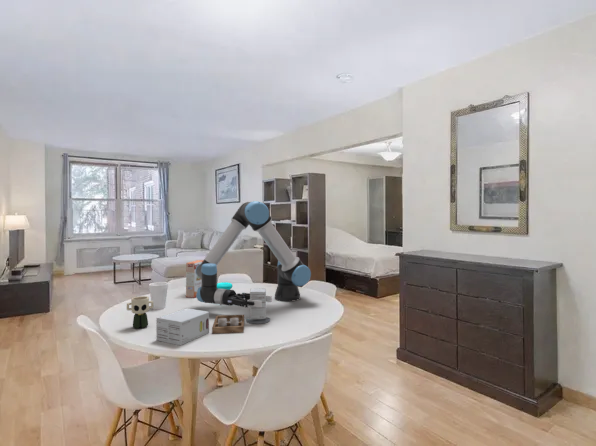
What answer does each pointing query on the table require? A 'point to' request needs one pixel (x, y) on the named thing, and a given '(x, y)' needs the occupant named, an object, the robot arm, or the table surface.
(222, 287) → the donuts
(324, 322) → the table surface
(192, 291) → the cracker box
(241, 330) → the tray
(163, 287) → the foam cup
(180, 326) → the supplement box
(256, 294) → the supplement box
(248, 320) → the coaster
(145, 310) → the character mug
